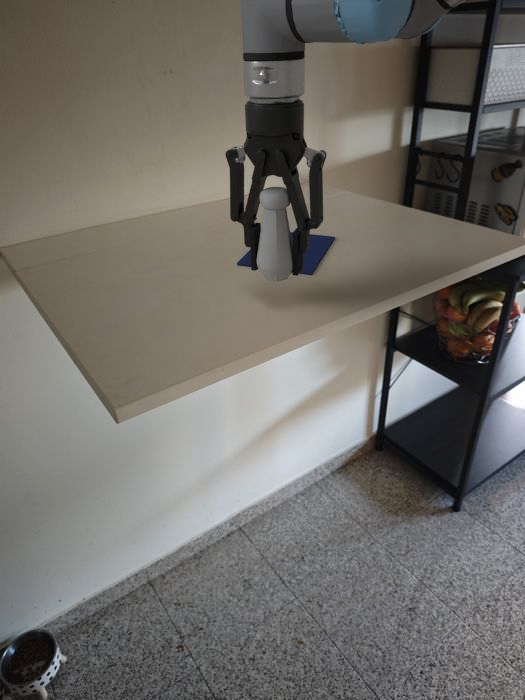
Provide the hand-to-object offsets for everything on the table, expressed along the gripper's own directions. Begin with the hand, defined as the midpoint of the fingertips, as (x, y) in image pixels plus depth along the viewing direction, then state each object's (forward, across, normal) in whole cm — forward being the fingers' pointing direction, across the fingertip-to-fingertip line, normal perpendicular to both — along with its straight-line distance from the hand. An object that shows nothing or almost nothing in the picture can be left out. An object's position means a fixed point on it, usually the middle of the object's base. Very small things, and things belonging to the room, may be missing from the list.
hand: (276, 269), depth 75 cm
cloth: (+5, -4, +20) cm, 21 cm away
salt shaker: (+1, 0, 0) cm, 1 cm away
